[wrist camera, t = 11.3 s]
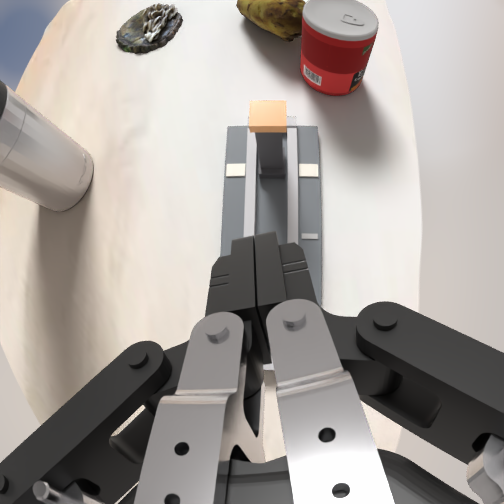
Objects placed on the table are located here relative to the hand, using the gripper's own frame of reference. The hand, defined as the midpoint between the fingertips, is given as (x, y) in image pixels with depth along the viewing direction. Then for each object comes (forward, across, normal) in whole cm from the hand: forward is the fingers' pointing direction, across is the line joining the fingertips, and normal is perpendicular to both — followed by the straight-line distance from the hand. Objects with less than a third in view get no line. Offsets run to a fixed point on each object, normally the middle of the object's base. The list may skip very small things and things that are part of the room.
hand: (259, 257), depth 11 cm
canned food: (+33, -11, -4) cm, 35 cm away
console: (+20, 0, +11) cm, 22 cm away
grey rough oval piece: (+44, +12, -17) cm, 49 cm away
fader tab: (+23, -1, +4) cm, 24 cm away
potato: (+40, -6, -12) cm, 42 cm away
